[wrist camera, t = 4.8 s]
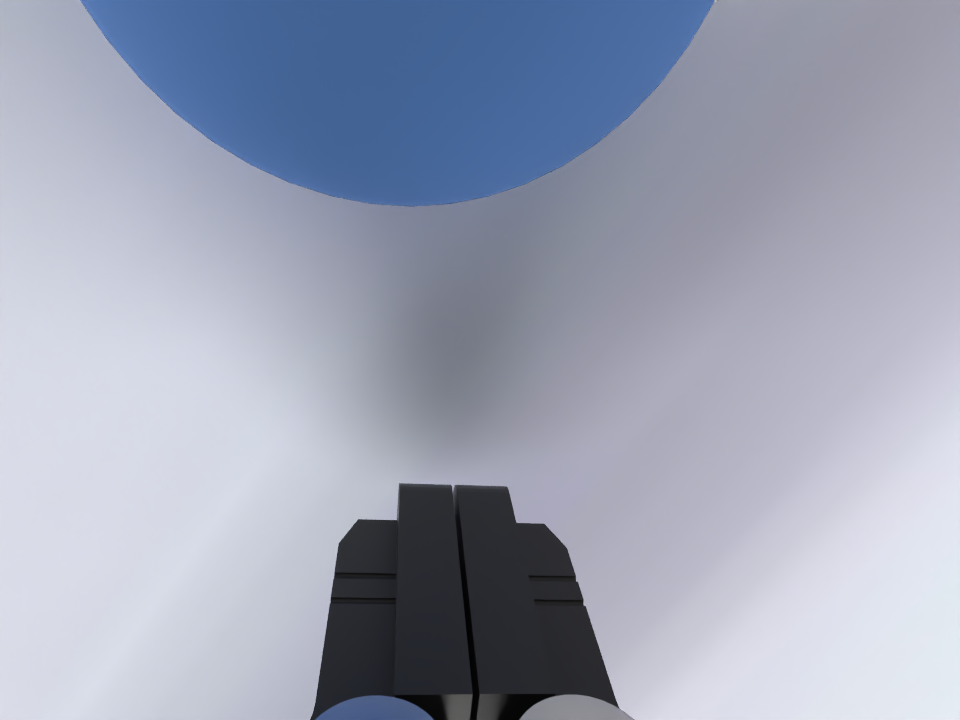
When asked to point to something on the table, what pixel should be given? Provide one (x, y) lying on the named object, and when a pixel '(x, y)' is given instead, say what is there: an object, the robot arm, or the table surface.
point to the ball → (402, 84)
